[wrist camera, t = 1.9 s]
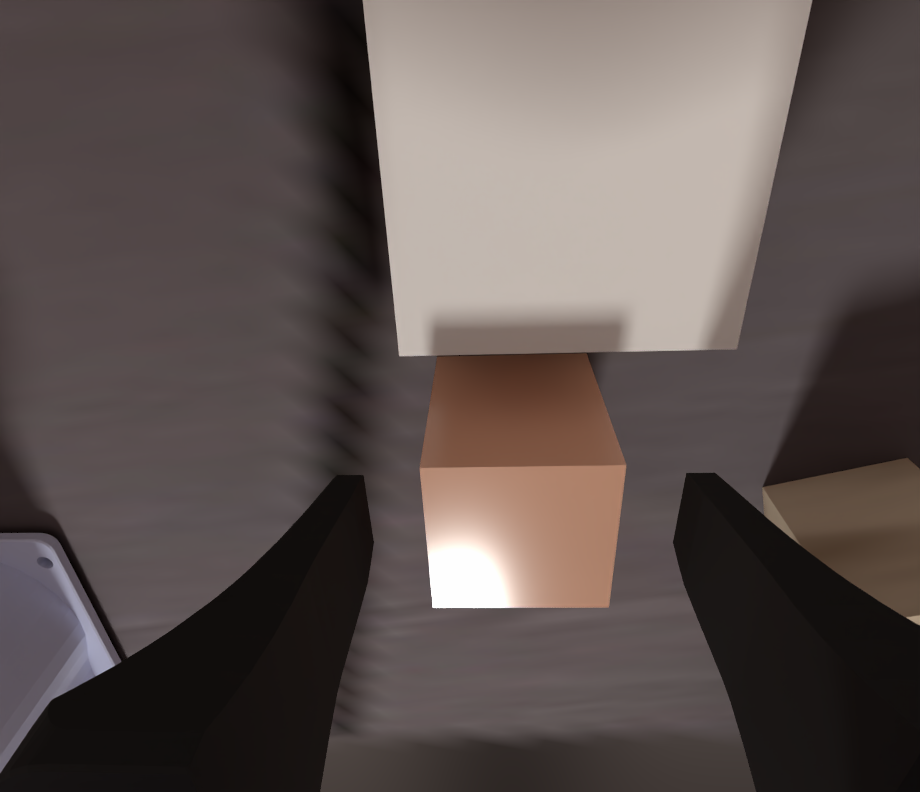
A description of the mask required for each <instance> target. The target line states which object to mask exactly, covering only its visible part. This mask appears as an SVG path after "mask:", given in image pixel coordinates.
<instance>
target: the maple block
mask: <svg viewBox="0 0 920 792" xmlns="http://www.w3.org/2000/svg"><path fill="white" fill-rule="evenodd" d="M762 488H763V502H764V516H765V517H767V518H768V519H769V520H770V521H771V522H772V523H774V524H775V525H776V526H777V527H778V528H780V529H781V530H782V531H783V532H784V533H786V534H787V535H788V536H789V537H791V538H792V539H793V540H794V541H796V542H797V543H798V544H799V545H801V546H802V547H803V548H804V549H806V550H807V551H808V552H810V553H811V554H812V555H814V556H815V557H816V558H818V559H819V560H820V561H822V562H823V563H824V564H826V565H827V566H828V567H830V568H831V569H832V570H834V571H835V572H836V573H838V574H839V575H841V576H842V577H844V578H845V579H846V580H848V581H849V582H851V583H852V584H854V585H855V586H857V587H858V588H860V589H861V590H863V591H865V592H866V593H868V594H869V595H871V596H872V597H874V598H875V599H877V600H878V601H880V602H881V603H883V604H884V605H886V606H888V607H889V608H891V609H893V610H894V611H896V612H898V613H899V614H901V615H903V616H904V617H906V618H908V619H909V620H911V621H913V622H915V623H916V624H918V625H920V469H919V468H918V467H917V466H916V465H915V464H914V463H913V462H912V461H910V460H909V459H908V458H904V459H899V460H894V461H889V462H884V463H879V464H874V465H869V466H864V467H859V468H854V469H850V470H845V471H840V472H835V473H830V474H825V475H820V476H815V477H810V478H805V479H800V480H795V481H790V482H786V483H781V484H776V485H771V486H766V487H762Z"/></svg>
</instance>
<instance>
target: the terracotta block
mask: <svg viewBox="0 0 920 792" xmlns="http://www.w3.org/2000/svg"><path fill="white" fill-rule="evenodd" d="M625 472H626V463H625V460H624V457H623V454H622V452H621V449H620V446H619V443H618V440H617V437H616V435H615V432H614V429H613V426H612V423H611V421H610V418H609V415H608V412H607V409H606V407H605V404H604V401H603V398H602V395H601V393H600V390H599V387H598V384H597V381H596V379H595V376H594V373H593V370H592V367H591V364H590V362H589V359H588V356H587V353H578V354H533V355H489V356H444V357H437V361H436V368H435V374H434V380H433V387H432V393H431V399H430V406H429V412H428V418H427V425H426V431H425V437H424V444H423V450H422V456H421V463H420V476H421V487H422V497H423V507H424V518H425V528H426V539H427V549H428V559H429V570H430V580H431V590H432V601H433V608H589V607H609V601H610V593H611V585H612V577H613V569H614V561H615V553H616V545H617V537H618V529H619V521H620V513H621V505H622V496H623V488H624V480H625Z"/></svg>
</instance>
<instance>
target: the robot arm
mask: <svg viewBox="0 0 920 792" xmlns="http://www.w3.org/2000/svg"><path fill="white" fill-rule="evenodd" d="M373 544H374V541H373V534H372V528H371V521H370V515H369V508H368V502H367V496H366V489H365V483H364V476H363V475H337V476H336V477H335V478H334V479H333V480H332V481H331V482H330V483H329V485H328V486H327V487H326V488H325V489H324V490H323V492H322V493H321V494H320V495H319V496H318V497H317V499H316V500H315V501H314V502H313V503H312V504H311V505H310V507H309V508H308V509H307V510H306V511H305V512H304V513H303V515H302V516H301V517H300V518H299V519H298V520H297V521H296V522H295V523H294V524H293V526H292V527H291V528H290V529H289V530H288V531H287V532H286V533H285V534H284V535H283V536H282V537H281V538H280V540H279V541H278V542H277V543H276V544H275V545H274V546H273V547H272V548H271V549H269V550H268V551H267V552H266V553H265V554H264V555H263V556H262V557H261V558H260V559H259V560H258V561H257V562H256V563H255V564H254V565H253V566H252V567H251V568H250V569H249V570H248V571H247V572H246V573H244V574H243V575H242V576H241V577H240V578H239V579H238V580H237V581H235V582H234V583H233V584H232V585H231V586H230V587H228V588H227V589H226V590H225V591H223V592H222V593H221V594H220V595H219V596H217V597H216V598H215V599H214V600H212V601H211V602H210V603H208V604H207V605H206V606H204V607H203V608H201V609H200V610H199V611H197V612H196V613H195V614H193V615H192V616H190V617H189V618H188V619H186V620H185V621H184V622H182V623H181V624H179V625H178V626H177V627H175V628H174V629H172V630H171V631H170V632H168V633H167V634H165V635H164V636H162V637H160V638H159V639H157V640H156V641H154V642H153V643H151V644H150V645H148V646H147V647H145V648H143V649H142V650H140V651H138V652H137V653H135V654H134V655H132V656H130V657H129V658H127V659H125V660H124V661H122V662H121V660H120V658H119V656H118V654H117V652H116V650H115V648H114V647H113V645H112V643H111V641H110V639H109V637H108V635H107V633H106V631H105V629H104V627H103V625H102V623H101V621H100V620H99V618H98V616H97V614H96V612H95V610H94V608H93V606H92V604H91V602H90V600H89V598H88V596H87V594H86V593H85V591H84V589H83V587H82V585H81V583H80V581H79V579H78V577H77V575H76V573H75V571H74V569H73V567H72V566H71V564H70V562H69V560H68V558H67V556H66V554H65V552H64V550H63V548H62V546H61V544H60V543H59V541H58V540H57V539H56V538H55V537H53V536H51V535H49V534H45V533H0V792H320V789H321V782H322V777H323V771H324V765H325V759H326V753H327V747H328V741H329V735H330V730H331V724H332V719H333V713H334V708H335V702H336V697H337V692H338V688H339V684H340V680H341V675H342V672H343V668H344V665H345V661H346V658H347V654H348V651H349V647H350V644H351V640H352V637H353V633H354V630H355V626H356V623H357V619H358V616H359V612H360V609H361V605H362V601H363V598H364V594H365V591H366V587H367V583H368V577H369V571H370V565H371V558H372V551H373ZM673 544H674V548H675V552H676V556H677V560H678V564H679V568H680V571H681V575H682V579H683V582H684V586H685V588H686V591H687V593H688V596H689V598H690V601H691V603H692V606H693V608H694V611H695V613H696V616H697V618H698V621H699V623H700V626H701V628H702V630H703V633H704V635H705V638H706V640H707V643H708V645H709V647H710V650H711V652H712V655H713V657H714V660H715V662H716V665H717V667H718V669H719V672H720V674H721V677H722V679H723V682H724V685H725V688H726V690H727V693H728V696H729V699H730V702H731V705H732V708H733V712H734V715H735V718H736V722H737V725H738V728H739V732H740V735H741V738H742V742H743V745H744V749H745V752H746V756H747V759H748V763H749V767H750V770H751V774H752V778H753V781H754V785H755V789H756V792H920V625H918V624H916V623H915V622H913V621H911V620H909V619H908V618H906V617H904V616H903V615H901V614H899V613H898V612H896V611H894V610H893V609H891V608H889V607H888V606H886V605H884V604H883V603H881V602H880V601H878V600H877V599H875V598H874V597H872V596H871V595H869V594H868V593H866V592H865V591H863V590H861V589H860V588H858V587H857V586H855V585H854V584H852V583H851V582H849V581H848V580H846V579H845V578H844V577H842V576H841V575H839V574H838V573H836V572H835V571H834V570H832V569H831V568H830V567H828V566H827V565H826V564H824V563H823V562H822V561H820V560H819V559H818V558H816V557H815V556H814V555H812V554H811V553H810V552H808V551H807V550H806V549H804V548H803V547H802V546H801V545H799V544H798V543H797V542H796V541H794V540H793V539H792V538H791V537H789V536H788V535H787V534H786V533H784V532H783V531H782V530H781V529H780V528H778V527H777V526H776V525H775V524H774V523H772V522H771V521H770V520H769V519H768V518H767V517H765V516H764V515H763V514H762V513H761V512H760V511H758V510H757V509H756V508H755V507H754V506H753V505H751V504H750V503H749V502H748V501H747V500H746V499H745V498H743V497H742V496H741V495H740V494H739V493H738V492H737V491H736V490H734V489H733V488H732V487H731V486H730V485H729V484H727V483H726V482H725V481H724V480H723V479H722V478H720V477H719V476H718V475H717V474H716V473H686V478H685V483H684V488H683V494H682V499H681V504H680V509H679V514H678V520H677V525H676V530H675V535H674V540H673Z"/></svg>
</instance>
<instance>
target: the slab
mask: <svg viewBox="0 0 920 792" xmlns="http://www.w3.org/2000/svg"><path fill="white" fill-rule="evenodd" d="M811 4H812V0H363V8H364V18H365V27H366V37H367V47H368V56H369V66H370V76H371V85H372V95H373V105H374V115H375V124H376V134H377V144H378V153H379V163H380V173H381V182H382V192H383V202H384V212H385V221H386V231H387V241H388V250H389V260H390V270H391V280H392V289H393V299H394V309H395V318H396V328H397V338H398V347H399V356H436V355H484V354H532V353H580V352H628V351H676V350H724V349H737V346H738V341H739V337H740V332H741V327H742V323H743V318H744V314H745V309H746V304H747V300H748V295H749V290H750V286H751V281H752V277H753V272H754V267H755V263H756V258H757V253H758V249H759V244H760V240H761V235H762V230H763V226H764V221H765V217H766V212H767V207H768V203H769V198H770V193H771V189H772V184H773V180H774V175H775V170H776V166H777V161H778V157H779V152H780V147H781V143H782V138H783V133H784V129H785V124H786V120H787V115H788V110H789V106H790V101H791V97H792V92H793V87H794V83H795V78H796V73H797V69H798V64H799V60H800V55H801V50H802V46H803V41H804V37H805V32H806V27H807V23H808V18H809V13H810V9H811Z"/></svg>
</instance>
